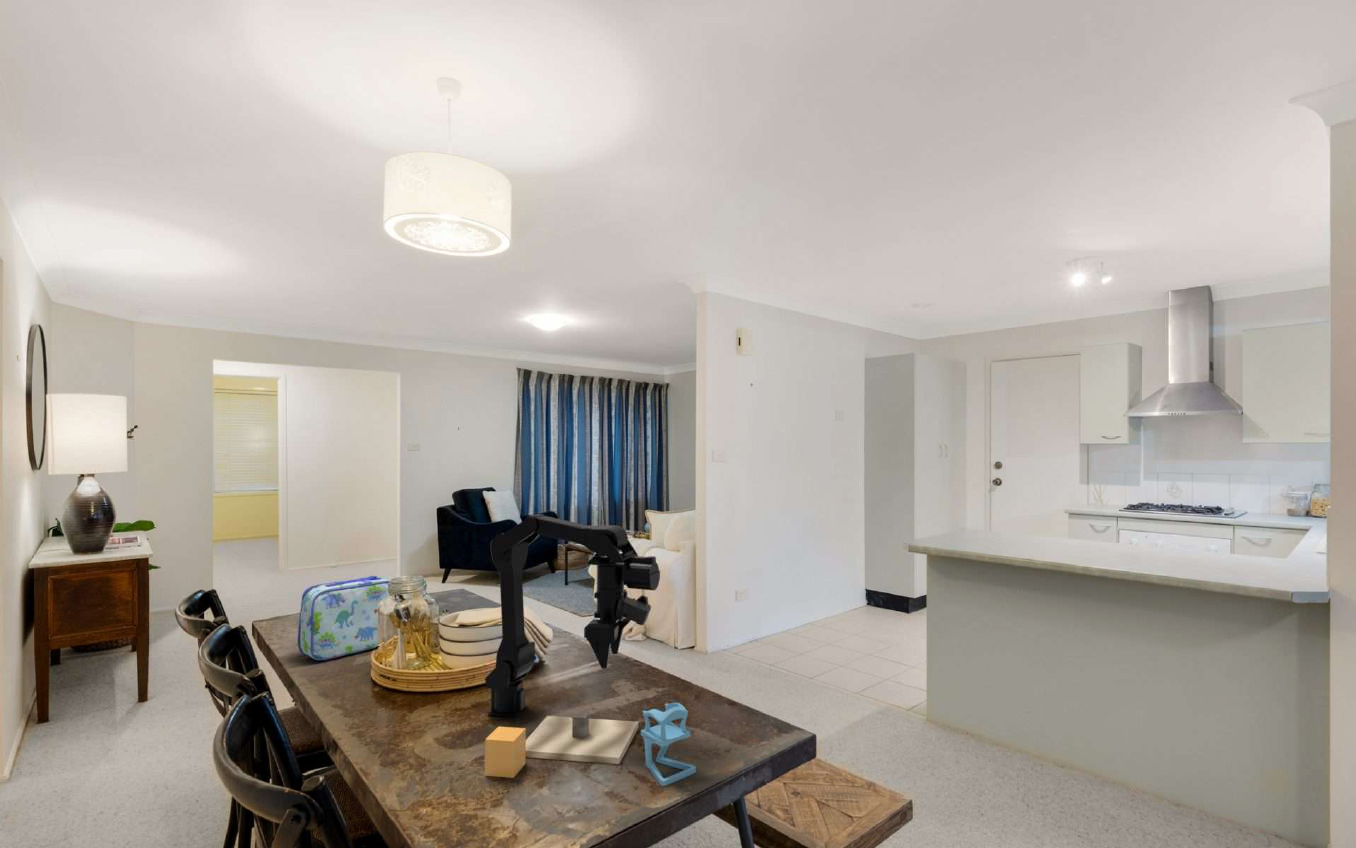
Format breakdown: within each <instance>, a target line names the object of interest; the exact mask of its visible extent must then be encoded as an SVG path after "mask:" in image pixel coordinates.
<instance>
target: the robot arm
mask: <svg viewBox="0 0 1356 848" xmlns="http://www.w3.org/2000/svg"><path fill="white" fill-rule="evenodd" d="M540 535H541V536H544V537H548V538H551V539H552V538H554V539H558V540H562V541H564V542H565V541H566V542H570V543H574V544H578V545H581V546H583V547H585V549H587V550H588V551H590V552H592V553H594V555H593V556H592V557H591V558H590V559H589V560H587V564H588V566H590V565H591V566H596V591H595V592H594V594H593V598H594V599H596V611H595V612H594V613H593V619H592V620H591V621H590V622H589V623H588V624H587V625H586V626H585V627H584V628H583V629H584V630H583V634H584V635H583V638H584V639H586V641H587V642H588V643H589V645H590V647H591V649H592V651H593V653H594V655H595V657H596V659H597V661H598V664H599V666H600V668H601V669H605V670H606V669H607V668H608V665H609V659H610V652H611V654H612V655H618V654H619V649H620V646H621V640H622V637H623V633H624V629H625V627H626V626H627V625H629V624H630V623H631V621H632V622H634V623H635V624H636V625H639V626H644V625H645V623H646V622H647V620H648V617H649V614H650V612H651V610H652V607H651V604H649V598H648V596H645V595H644V594H641V595H640V596H639V597H637V599H636V598H634V597H633V598H631V597H629V596H628V591H627V589H626V588H625V586H626V587H627V588H628V589H634V590H643V591H644V590H645V591H656V590H657V589H658V587H659V584H660V580H661V570H660V569H659V564H658V563H657V557H656V556H639V555H638V553H637V551H636V550H635V548H634V547H633V544H632V543H631V542H630V541H629V537H628V533H627V532H626V530H625V528H624V527H622V526H620V525H609V524H607V525H606V524H605V525H602V524H601V525H600V524H599V525H588V524H583V523H578V522H574V521H569V520H566V519H560V518H555V517H552V516H547V515H545V514H543V513H538V514H537V513H536V514H532V515H528V516H526V518H525V519H524V520H522V521H521V522H519V523H518V524H515V526H513V527H512V528H510V529H508V530H506V531H505V532H503V533H500V534H497V535H495V536H494V537H493V539H491V541H490V546H489V547H490V553H491V559H492V563H493V565H494V567H495V568H496V570H497V571H498V574H499V584H500V587H499V588H500V589H499V590H500V610H501V611H500V613H501V614H500V616H501V632H502V633H501V634H502V635H501V636H502V639H501V641H500V644H499V647H498V649H497V652H496V657H495V667H494V668H493V670H491V672H490V673H489V674H487V675H486V677H485V678H484V682H485V684H486V688H487V689H490V710H489V711H488V712H487V715H488V716H493V717H494V716H495V717H511V718H514V717H517V715H519V713H520V712H522V710H524V709H525V707H526V706H527V703H526V689H525V687H524V681H523V680H524V679H526V678H527V676H528V674H529V672H530V671H531V670H532V668H533V666H534V664H535V663H534V662H535V661H536V660H537V657H536V653H535V652H536V651H535V650H536V643H535V641H529V639H528V638H527V636H526V632H525V630H526V629H525V612H524V610H525V608H524V606H525V605H524V591H523V590H524V588H523V586H524V584H523V569H524V567H525V564H526V561H527V559H528V554H529V553H528V552H529V546H530V544H532V543H533V542H534V541H536V540H537V539H538V537H539V536H540Z"/></svg>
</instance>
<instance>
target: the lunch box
mask: <svg viewBox="0 0 1356 848" xmlns="http://www.w3.org/2000/svg"><path fill="white" fill-rule="evenodd" d="M390 581H392V580H390V579H386V578H383V577H378V576H377V575H370V576H367V577H362V578H357V579H350V580H344V581H336V582H335V581H333V582H328V583H319V584H315V585H311V586H309V587H307V588H306V589H305V590H304V591H303V593H302V595H301V603H300V611H299V612H300V613H299V620H298V628H297V629H298V631H297V646H298V649H299V652H300V654H302V655H304V656H309V657H310V658H312V659H313V660H317V661H327V660H332V659H336V658H340V657H343V656H347V655H348V656H349V655H350V654H351V655H352V654H356V653H360V652H363V651H368V650H372V649H376V647H377V645H378V602H380V601H381V600H383V599H385V598H387V597H388V595H389V593H388V584H389V582H390ZM377 648H378V647H377Z"/></svg>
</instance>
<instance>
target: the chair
mask: <svg viewBox="0 0 1356 848" xmlns="http://www.w3.org/2000/svg"><path fill="white" fill-rule="evenodd" d="M664 707H665V711H661V710H659V709H656V708H653V709H649V710H642V714H643V715H642V716H643V719H644V721H645V727H644V729H641V730H640V736H642V739H643V741H644V750H645V751H644V752H645V767H646V768H647V769H649V770H650V772H651V774H652V775H653V776H654V777H653V778H655V780H656V781H657V782H658V783H659V785H660V786H662V787H667V786H668V785H671V784H673V783H676V782H678V781H680V780H683V779H685V778H688V777H690V776H691V775H694V774H695V773H696V772H697V769H696V766H695V765H692V764H689V763H687V762H682V761H679V760H676V759H673V758H668V757H666V756H665V754H666V751H667V750H668V748H669V746H670V744H673V743H675V742H677V741H681V740H686V739H688V738H691V731H689V730H687V728H686V727H687V726H686V722H687V719H688V715H689V712H688V710H687V709H686V707H684V705H682V704H681V703H679V702H671V703H665V704H664ZM650 717H651V718H652V719H654V720H655V721H656V722H657V723H658V724H656V725H655V726H651V722H650V720H649V718H650ZM680 719H682V720H681V722H680V726H678V725H676V724H675V723H674V722H672V721H676V720H680ZM653 744H654V745H655V744H657V745H658V746H659V747H660V748H659V750H658V753H657V754H656V759H655V761H656V762H657V763H659V764H662V765H665V766H669V767H671V768H672V767H673V768H676V769H680V770H682V771H680V772H677V773H675V774H672V775H670V776H667V777H665V778H664V777H663V775H662V773H661V772H660V770H659V769H658V768H657V766H656V764H655V763H654V762H653V755H652V751H653V750H652V745H653Z"/></svg>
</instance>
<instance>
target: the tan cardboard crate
mask: <svg viewBox="0 0 1356 848" xmlns="http://www.w3.org/2000/svg"><path fill="white" fill-rule="evenodd" d="M526 733H527V732H526V728H525V727H512V726H510V727H509V726H497V728H495V729H494V730H493V731H492V733H490V734H489V735H488V736H487V737H486V738H485V740H484V741H485V743H484V744H485V745H484V753H485V754H484V757H485V759H484V761H485V762H484V771H485V772H484V774H485V776H487V777H498V778H499V777H500V778H510V779H512V778H515V777H516V776H517V775H518V774H519V772H520V771H521V770H522V768H523V767H524V766H525V765H526V760H527V759H526V758H527V757H526V739H527V738H526V737H527V736H526V735H527V734H526Z"/></svg>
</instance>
